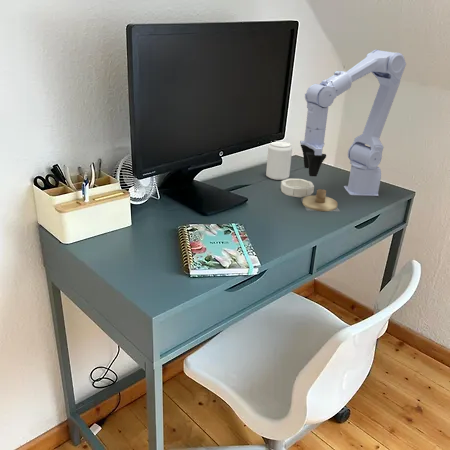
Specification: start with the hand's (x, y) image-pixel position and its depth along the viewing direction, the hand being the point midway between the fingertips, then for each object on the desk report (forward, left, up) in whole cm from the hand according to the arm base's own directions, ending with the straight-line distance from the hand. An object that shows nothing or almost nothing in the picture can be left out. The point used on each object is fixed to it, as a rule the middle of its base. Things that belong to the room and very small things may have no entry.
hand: (310, 171), depth 150 cm
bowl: (+2, -7, -10) cm, 12 cm away
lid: (-3, +4, -9) cm, 10 cm away
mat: (-3, +4, -10) cm, 11 cm away
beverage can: (+6, -22, -10) cm, 25 cm away
